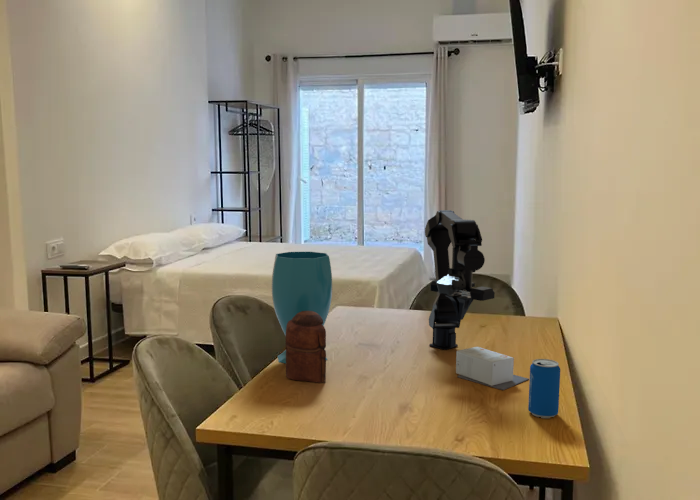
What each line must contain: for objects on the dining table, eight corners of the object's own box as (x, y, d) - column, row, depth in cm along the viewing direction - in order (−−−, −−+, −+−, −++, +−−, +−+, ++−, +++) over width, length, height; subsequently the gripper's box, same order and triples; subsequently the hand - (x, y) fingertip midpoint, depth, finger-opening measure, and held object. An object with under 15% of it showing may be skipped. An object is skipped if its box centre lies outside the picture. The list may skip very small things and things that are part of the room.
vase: (336, 365, 182) (336, 258, 178) (273, 368, 179) (272, 259, 175) (327, 348, 199) (328, 250, 195) (270, 350, 196) (270, 251, 192)
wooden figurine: (332, 377, 172) (332, 310, 169) (323, 384, 166) (324, 315, 163) (290, 372, 175) (290, 306, 173) (280, 380, 169) (280, 311, 167)
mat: (457, 377, 173) (457, 375, 172) (483, 367, 181) (483, 366, 181) (503, 390, 163) (503, 389, 162) (528, 379, 171) (528, 378, 171)
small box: (455, 373, 175) (491, 386, 164) (455, 350, 174) (492, 361, 163) (477, 368, 179) (513, 381, 169) (477, 346, 179) (514, 357, 168)
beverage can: (524, 409, 150) (526, 358, 148) (551, 408, 150) (553, 358, 149) (534, 420, 144) (536, 367, 142) (562, 419, 144) (565, 366, 143)
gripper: (417, 263, 184) (416, 317, 186) (471, 272, 170) (469, 330, 172) (443, 259, 191) (442, 312, 193) (496, 268, 177) (494, 324, 179)
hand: (460, 319), depth 184 cm, fingers closed
